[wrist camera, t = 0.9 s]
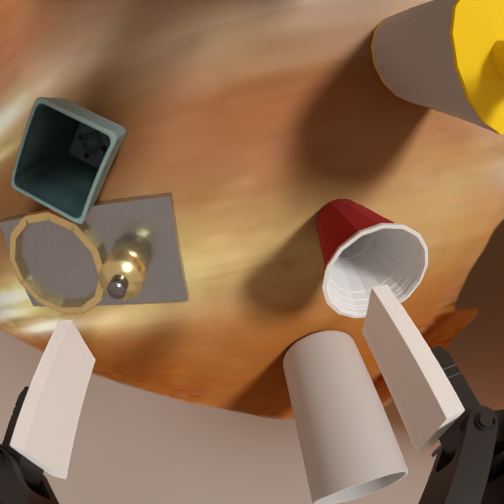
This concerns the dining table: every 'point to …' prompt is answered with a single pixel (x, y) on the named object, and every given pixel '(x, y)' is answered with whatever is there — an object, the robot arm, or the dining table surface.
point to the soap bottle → (446, 58)
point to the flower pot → (65, 156)
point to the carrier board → (99, 255)
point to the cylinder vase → (339, 420)
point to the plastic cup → (366, 256)
